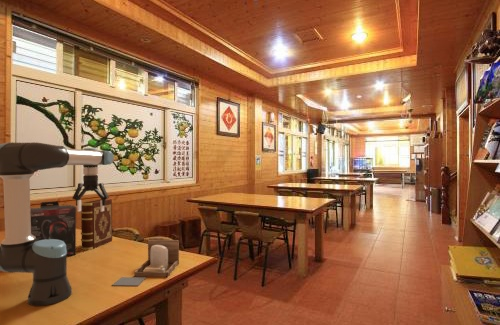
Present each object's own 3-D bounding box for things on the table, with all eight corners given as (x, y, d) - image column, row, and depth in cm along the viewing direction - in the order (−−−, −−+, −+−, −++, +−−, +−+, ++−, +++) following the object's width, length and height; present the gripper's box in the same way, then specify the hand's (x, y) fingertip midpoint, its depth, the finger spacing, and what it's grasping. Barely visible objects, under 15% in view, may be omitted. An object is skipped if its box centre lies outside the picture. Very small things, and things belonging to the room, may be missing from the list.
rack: (168, 277, 144) (167, 250, 144) (134, 276, 144) (134, 250, 144) (178, 263, 163) (178, 240, 162) (149, 263, 163) (148, 240, 163)
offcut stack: (161, 276, 144) (161, 269, 144) (141, 276, 145) (141, 269, 145) (165, 271, 151) (165, 264, 151) (146, 271, 151) (146, 264, 151)
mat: (137, 286, 134) (137, 285, 134) (112, 285, 134) (112, 284, 134) (145, 278, 143) (145, 277, 143) (121, 277, 143) (121, 277, 143)
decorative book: (89, 250, 188) (89, 203, 188) (78, 249, 190) (78, 203, 189) (112, 241, 210) (112, 199, 210) (102, 240, 212) (102, 198, 211)
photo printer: (169, 268, 155) (169, 245, 155) (163, 271, 151) (163, 247, 151) (155, 265, 160) (155, 242, 160) (149, 268, 156) (148, 244, 156)
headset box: (70, 250, 188) (70, 198, 187) (77, 255, 179) (76, 200, 179) (22, 260, 170) (22, 203, 170) (26, 265, 161) (26, 205, 161)
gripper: (114, 174, 175) (115, 210, 175) (73, 174, 176) (73, 210, 176) (108, 175, 167) (108, 212, 167) (65, 175, 168) (65, 212, 168)
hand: (90, 211), depth 172 cm, fingers open, 13 cm apart
